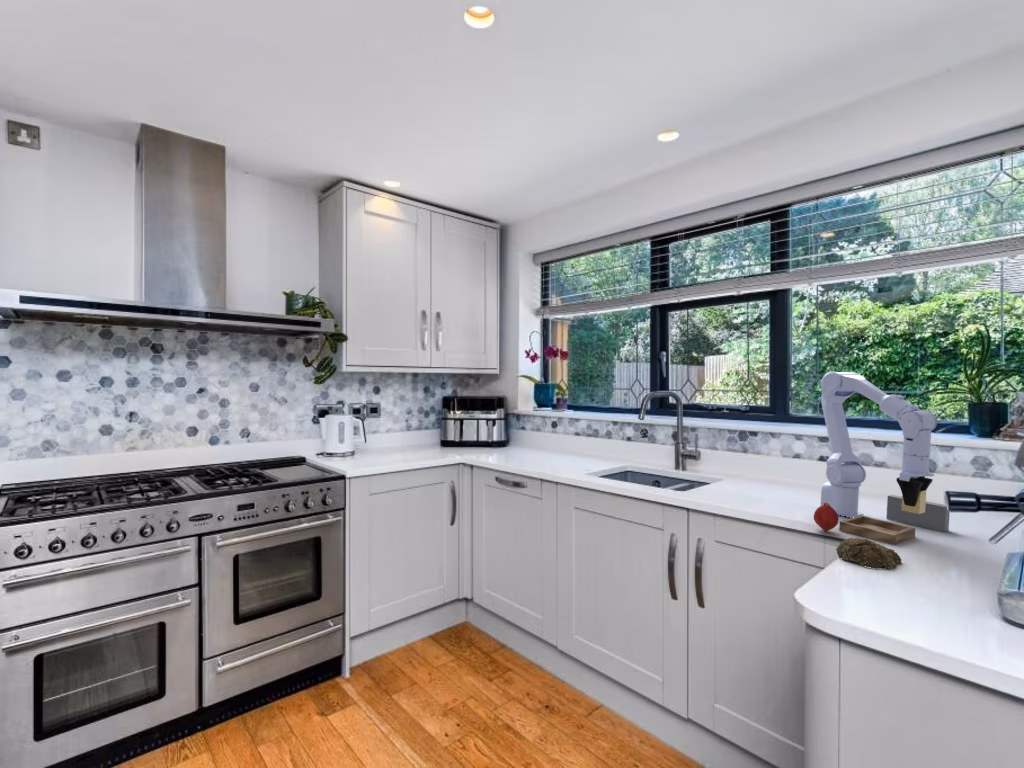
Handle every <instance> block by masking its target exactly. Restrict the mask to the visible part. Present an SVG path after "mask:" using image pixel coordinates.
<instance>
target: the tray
mask: <svg viewBox="0 0 1024 768" xmlns="http://www.w3.org/2000/svg"><path fill="white" fill-rule="evenodd" d="M838 526H839V527H838V529H839V531H841V532H845V533H849V534H853V535H856V536H860V537H864V538H866V539H872V540H876V541H879V542H883V543H885V544H886V543H887V544H891V545H897V544H900V543H902V542H905V541H908V540H910V539H913V538H915V537H916V527H913V526H909V525H906V524H905V525H904V524H900V523H895V522H891V521H888V520H883V519H878V518H874V517H870V516H866V515H861V516H857V517H854V518H846V519H843V520H839V525H838Z"/></svg>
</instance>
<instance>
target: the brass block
mask: <svg viewBox="0 0 1024 768" xmlns="http://www.w3.org/2000/svg"><path fill="white" fill-rule="evenodd" d="M926 501H927V490H923V489H920V490H919V493H918V496H917V501H916V504H915V506H914V507H912V506H908V505H905V504H904V500H903V495H902V511H907V512H912V513H916V514H921V513H924V512H925V506H926Z"/></svg>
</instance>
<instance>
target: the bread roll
mask: <svg viewBox="0 0 1024 768" xmlns="http://www.w3.org/2000/svg"><path fill="white" fill-rule="evenodd" d="M835 550H836V553H837V556H838V558H839V559H840V558H842V559H843V560H842V559H841V560H842V561H846V562H852V563H855V564H859V565H860V566H862V565H863V566H866V567H871V568H882V569H883V568H886V569H885V570H894V569H896V567H897V568H898V566H900V564H901V565H902V564H903V563H902V558H901V556H900V555H899V554H898V552H896V551H895V550H894V549H892V548H888V547H886V546H884V545H882V544H880V543H877V542H874V541H872V540H870V539H869V538H859V537H848V538H845V539H843V540H842V541H841V542H840V543H839V544H838V545H837V547H836V548H835ZM897 565H898V566H897ZM863 566H862V567H863ZM866 567H865V568H866ZM871 568H870V569H871ZM893 568H894V569H893Z"/></svg>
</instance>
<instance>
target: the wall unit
mask: <svg viewBox="0 0 1024 768" xmlns="http://www.w3.org/2000/svg"><path fill="white" fill-rule="evenodd" d="M886 500H887V501H886V505H887V506H886V518H887V519H886V520H890V519H891V520H890V521H894V520H895V522H900V523H903V524H907V525H912V526H916V527H922V528H924V529H925V528H926V529H931V530H935V531H939V532H941V533H942V532H943V533H945V532H948V531H949V530H950V529H949V528H950V516H951V515H950V513H951V512H949V511H948V510H947V506H946V505H947V504H943V503H942V504H941V503H938V502H933V501H928V500H926V506H925V512H924V513H921V514H916V513H912V512H907V511H902V496H901V495H896V494H889V495H887V499H886Z"/></svg>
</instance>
